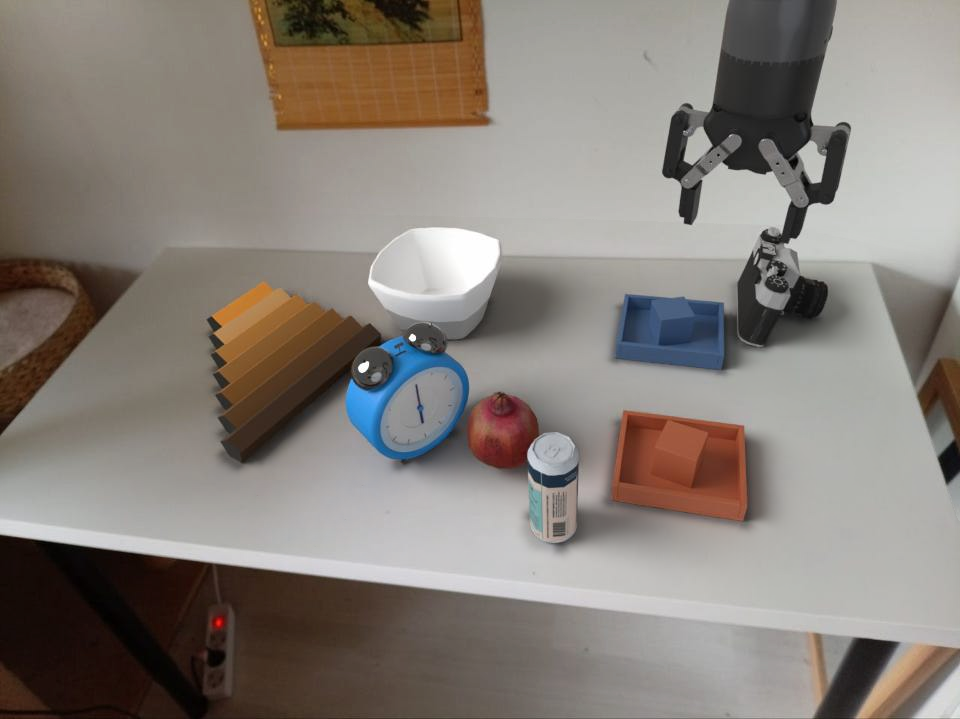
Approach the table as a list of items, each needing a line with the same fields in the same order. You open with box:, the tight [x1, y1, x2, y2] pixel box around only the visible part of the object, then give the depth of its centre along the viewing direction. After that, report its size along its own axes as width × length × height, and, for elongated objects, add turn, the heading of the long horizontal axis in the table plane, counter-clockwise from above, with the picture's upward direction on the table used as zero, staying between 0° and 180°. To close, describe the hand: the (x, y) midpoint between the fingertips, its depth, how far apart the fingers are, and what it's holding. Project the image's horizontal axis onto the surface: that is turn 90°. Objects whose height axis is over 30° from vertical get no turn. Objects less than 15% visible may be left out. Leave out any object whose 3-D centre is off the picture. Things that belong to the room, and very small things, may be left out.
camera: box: [736, 226, 829, 348], centre depth 90 cm, size 15×11×10 cm
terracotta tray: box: [611, 409, 749, 522], centre depth 74 cm, size 13×11×2 cm
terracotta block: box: [651, 420, 709, 488], centre depth 73 cm, size 4×4×4 cm
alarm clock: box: [345, 322, 470, 464], centre depth 76 cm, size 13×6×15 cm, turn 129°
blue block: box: [649, 296, 695, 346], centre depth 90 cm, size 4×4×4 cm
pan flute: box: [206, 280, 382, 464], centre depth 92 cm, size 25×3×25 cm
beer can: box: [527, 431, 580, 544], centre depth 66 cm, size 5×5×12 cm
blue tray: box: [615, 293, 725, 371], centre depth 91 cm, size 13×11×2 cm
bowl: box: [367, 226, 503, 340], centre depth 96 cm, size 18×18×9 cm
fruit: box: [465, 391, 541, 470], centre depth 74 cm, size 8×8×10 cm
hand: (736, 229), depth 62 cm, fingers open, 8 cm apart
